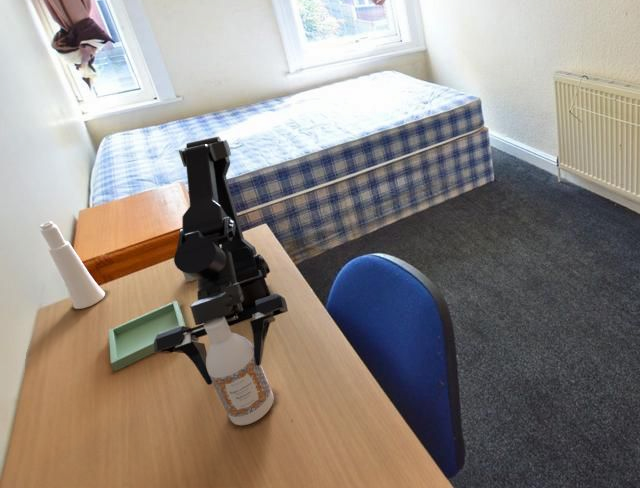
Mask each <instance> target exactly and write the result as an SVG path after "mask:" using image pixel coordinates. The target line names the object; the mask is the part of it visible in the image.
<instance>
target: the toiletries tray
mask: <svg viewBox="0 0 640 488" xmlns="http://www.w3.org/2000/svg"><path fill="white" fill-rule="evenodd" d="M180 326H185V327H187V326H186V323H185V320H184V317H183V312H182V310H181V307H180V304H179V303H178V300H174V301H172V302H169V303H167V304H165V305H163V306H160V307H157V308H156V309H153V310H150V311H148V312H147V313H145V314H142V315H140V316H138V317H135V318H133V319H131V320H128V321H125V322H124V323H121V324H119V325H117V326H115V327H113V328H109V329H108V344H109V358H110V365H111V366H112V369H113V370H114V372H117V371H119V370H121V369H123V368H125V367H127V366H130V365H132V364H133V363H135V362H138V361H140V360H142V359H144V358H146V357H148V356H150V355H153V354H155V348H154V340H155V338H156V336H157V334H159V333H162V332H165V331H168V330H171V329H174V328H177V327H180Z"/></svg>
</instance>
